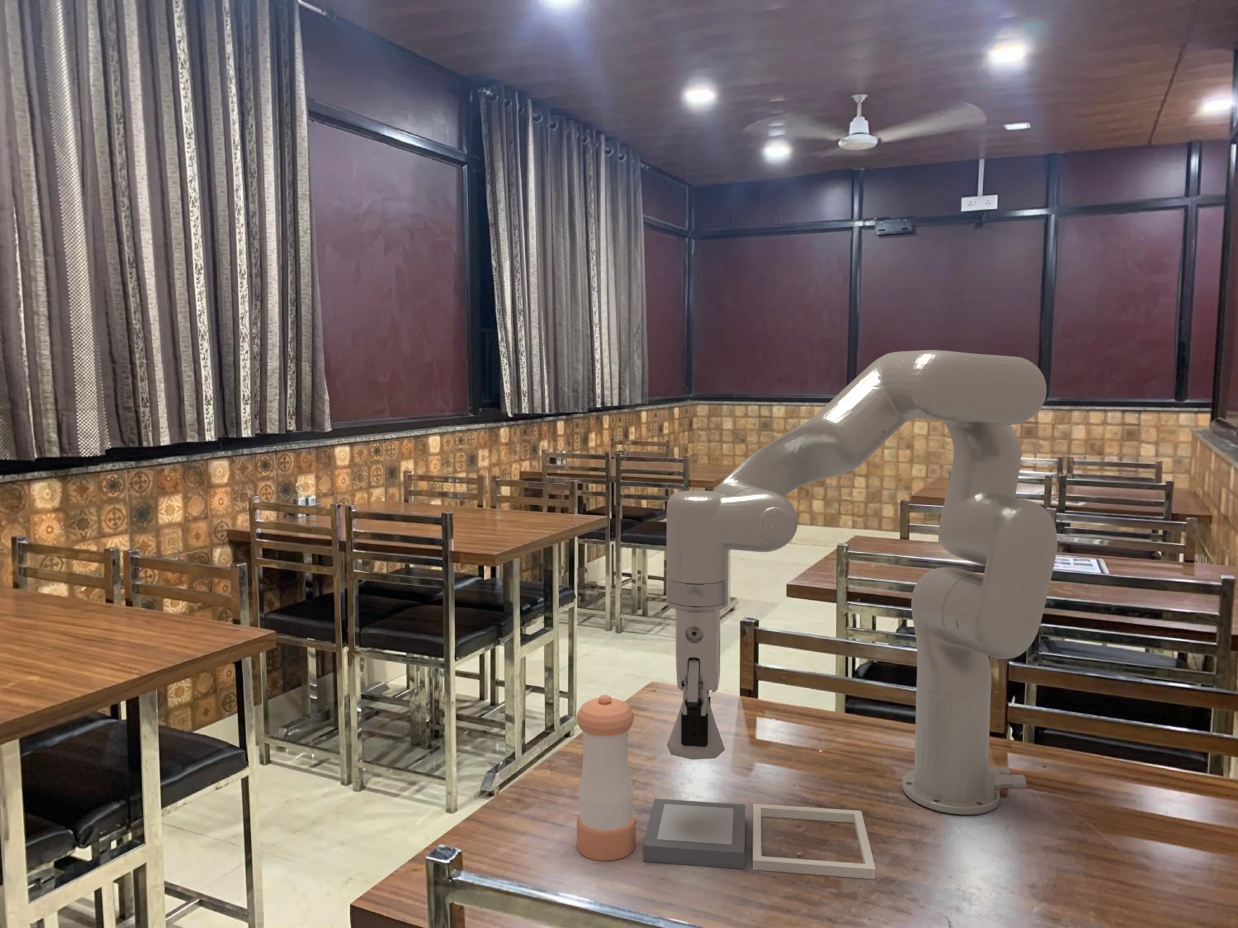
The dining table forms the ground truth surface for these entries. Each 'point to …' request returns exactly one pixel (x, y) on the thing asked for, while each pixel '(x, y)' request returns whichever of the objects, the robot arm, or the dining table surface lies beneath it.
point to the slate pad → (696, 833)
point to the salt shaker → (605, 781)
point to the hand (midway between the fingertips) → (696, 734)
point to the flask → (693, 752)
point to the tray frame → (813, 866)
